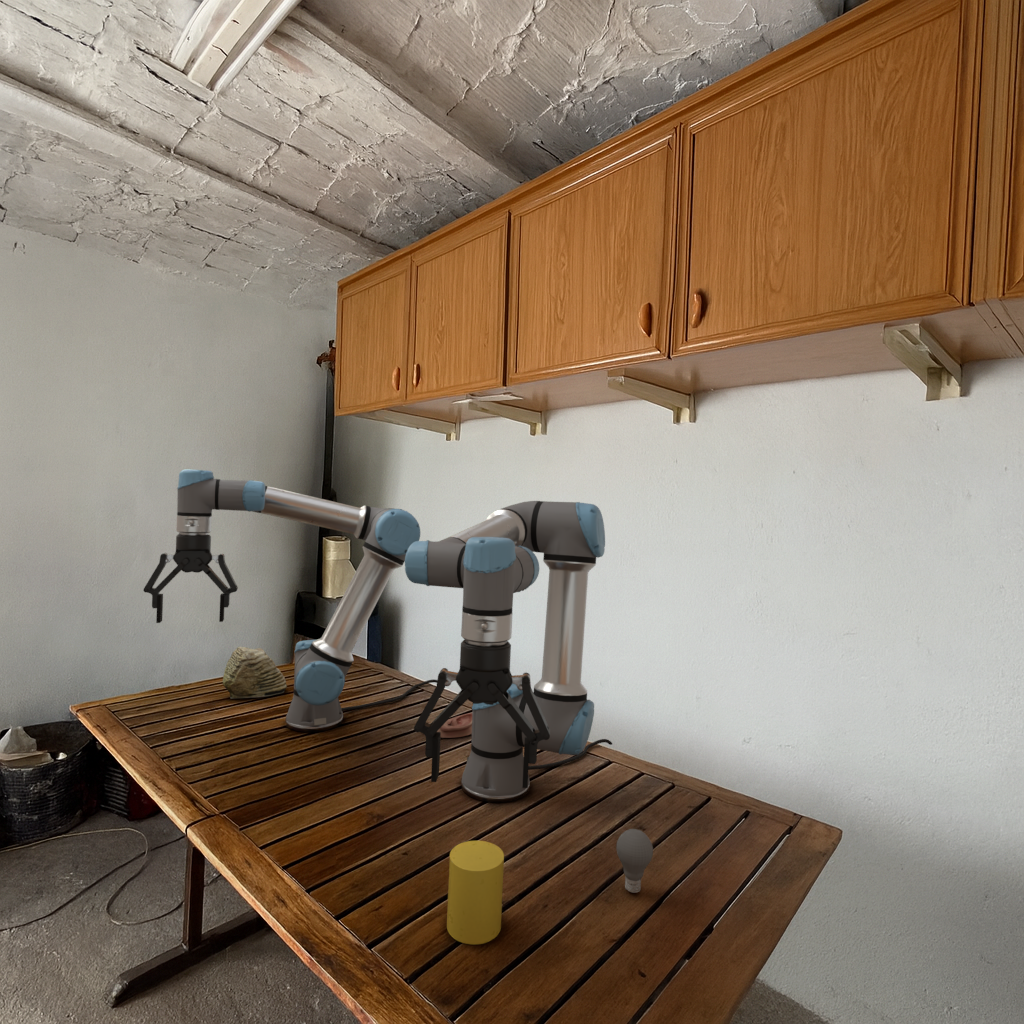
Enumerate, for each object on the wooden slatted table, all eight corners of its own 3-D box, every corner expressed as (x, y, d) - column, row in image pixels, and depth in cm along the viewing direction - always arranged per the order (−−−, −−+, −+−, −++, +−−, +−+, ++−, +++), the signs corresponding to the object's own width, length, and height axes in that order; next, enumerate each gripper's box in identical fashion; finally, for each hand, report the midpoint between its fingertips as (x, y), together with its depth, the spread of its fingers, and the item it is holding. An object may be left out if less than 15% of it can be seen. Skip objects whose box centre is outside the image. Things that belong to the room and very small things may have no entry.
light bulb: (610, 879, 108) (613, 822, 108) (644, 879, 109) (647, 822, 109) (619, 902, 102) (622, 840, 102) (655, 901, 103) (658, 840, 103)
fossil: (218, 695, 195) (220, 647, 195) (278, 685, 208) (279, 640, 207) (228, 703, 189) (230, 653, 188) (289, 692, 201) (290, 645, 201)
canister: (512, 925, 96) (515, 855, 96) (473, 953, 90) (477, 878, 90) (474, 901, 101) (476, 834, 101) (435, 925, 95) (438, 854, 95)
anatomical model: (420, 720, 170) (434, 707, 181) (419, 735, 170) (433, 721, 181) (467, 726, 167) (478, 712, 179) (467, 741, 167) (478, 726, 179)
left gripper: (131, 533, 145) (128, 625, 146) (248, 535, 153) (245, 623, 154) (138, 531, 152) (136, 619, 153) (250, 533, 160) (247, 617, 161)
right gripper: (397, 641, 92) (392, 786, 92) (570, 650, 90) (564, 798, 91) (408, 630, 99) (403, 765, 99) (568, 639, 98) (562, 775, 98)
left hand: (190, 621), depth 153 cm, fingers open, 13 cm apart
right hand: (480, 781), depth 95 cm, fingers open, 13 cm apart
